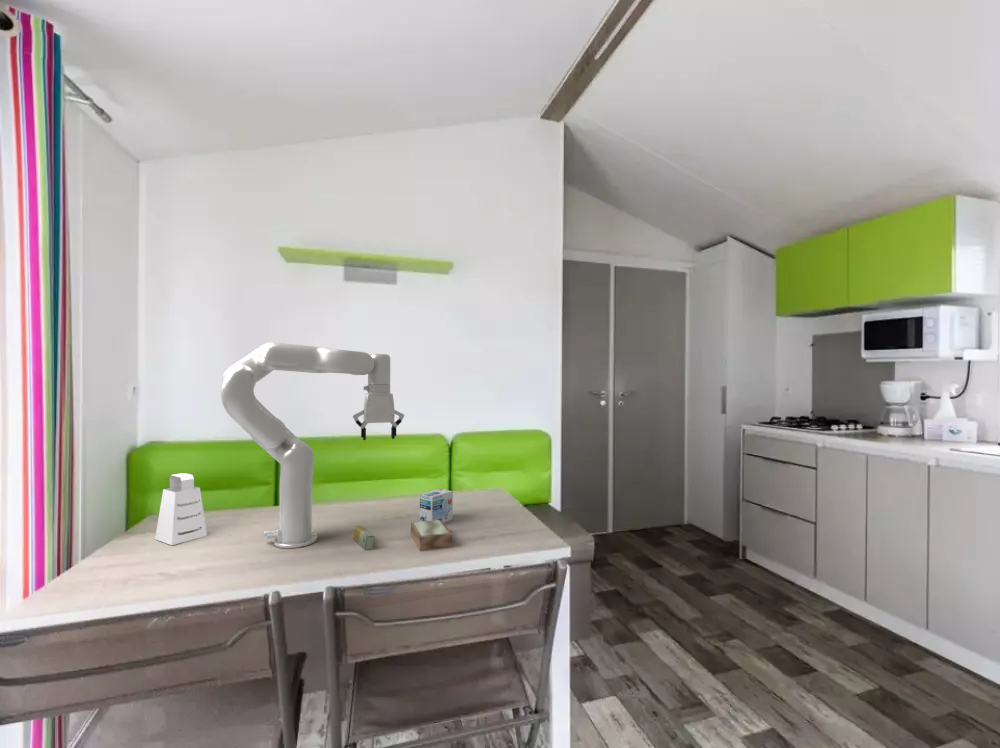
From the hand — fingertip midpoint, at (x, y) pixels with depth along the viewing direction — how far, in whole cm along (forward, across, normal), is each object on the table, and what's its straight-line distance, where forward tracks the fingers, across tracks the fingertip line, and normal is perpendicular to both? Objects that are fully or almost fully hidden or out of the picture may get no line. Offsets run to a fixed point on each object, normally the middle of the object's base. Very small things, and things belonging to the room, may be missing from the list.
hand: (378, 439), depth 166 cm
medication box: (+31, -6, -15) cm, 35 cm away
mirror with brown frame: (+30, +14, -20) cm, 39 cm away
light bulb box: (+31, +20, -2) cm, 37 cm away
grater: (+31, -60, +10) cm, 69 cm away
